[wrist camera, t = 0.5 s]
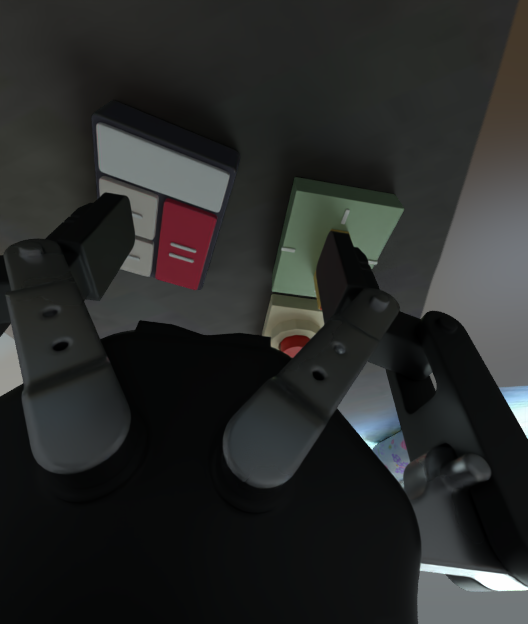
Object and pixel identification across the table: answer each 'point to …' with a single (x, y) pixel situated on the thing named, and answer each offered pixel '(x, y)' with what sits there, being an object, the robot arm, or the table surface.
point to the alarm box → (291, 318)
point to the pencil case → (393, 455)
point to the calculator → (164, 190)
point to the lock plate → (320, 220)
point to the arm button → (293, 344)
